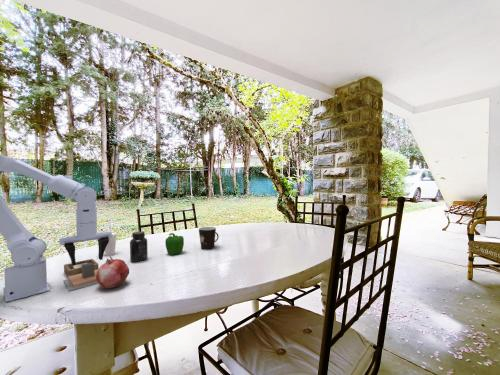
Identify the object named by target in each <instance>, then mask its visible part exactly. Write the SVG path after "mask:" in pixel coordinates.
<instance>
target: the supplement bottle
mask: <svg viewBox="0 0 500 375" xmlns="http://www.w3.org/2000/svg"><path fill="white" fill-rule="evenodd" d="M145 233H146V232H145V231H135V232H132V234H131V236H132V237H131V240H130V241H129V258H130V259H129V260H130V262H131V263H135V264H136V263H143V262H145V261H147V260H148V256H149V255H148V252H149V251H148V239H147V238H146V234H145Z"/></svg>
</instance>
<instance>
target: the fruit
mask: <svg viewBox="0 0 500 375" xmlns="http://www.w3.org/2000/svg"><path fill="white" fill-rule="evenodd" d="M109 258H110V259H109ZM109 258H107V259H106V261H105V262H104V263H103V264H101V265H100V266H99V269H98V271H97V274H96V279H97V281H98V285H99V286H100V288H102V289H113V288H115V287H119V286H121V285H123V284H124V283H125V281H126V280H127V278H128V276H129V274H130V267H129V266H128V264H126V262H125V261H124V260H123V259H120V258H119V259H118V258H115V259H114V258H113V257H112V255H111V256H109Z"/></svg>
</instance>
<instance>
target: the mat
mask: <svg viewBox="0 0 500 375" xmlns="http://www.w3.org/2000/svg"><path fill="white" fill-rule="evenodd" d="M63 284H64V285H65V287H66V288H67V290H68V291H69V292H72V291H76V290H79V289H83V288H87V287H91V286H94V285H97V284H98V285H99V283H98V281H97V282H93V283H90V284H86V285H82V286H79V287H75V288H73V286H72V285H71V283H70V282H69V280H68V278H67V279H64V280H63Z"/></svg>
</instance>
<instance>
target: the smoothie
mask: <svg viewBox="0 0 500 375" xmlns="http://www.w3.org/2000/svg"><path fill="white" fill-rule="evenodd" d="M109 232H112V225H111V224H109ZM117 236H118V233H117V232H112V238H108V239H109V243H108V244H107V246H106V248H105V251H104V256H106V257H108V256H109V257H110V256H111V257H112V256H114V255H115V252H116V247H117V246H116V244H117Z"/></svg>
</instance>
